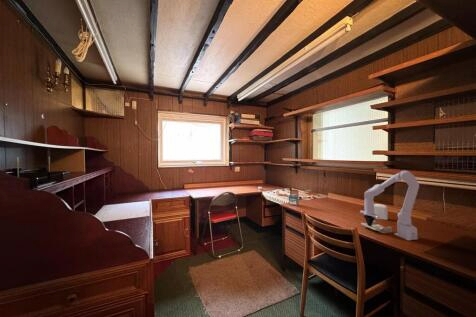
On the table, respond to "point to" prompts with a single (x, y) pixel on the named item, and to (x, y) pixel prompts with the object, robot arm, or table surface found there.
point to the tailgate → (371, 227)
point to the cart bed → (384, 229)
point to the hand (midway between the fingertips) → (369, 225)
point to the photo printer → (381, 211)
